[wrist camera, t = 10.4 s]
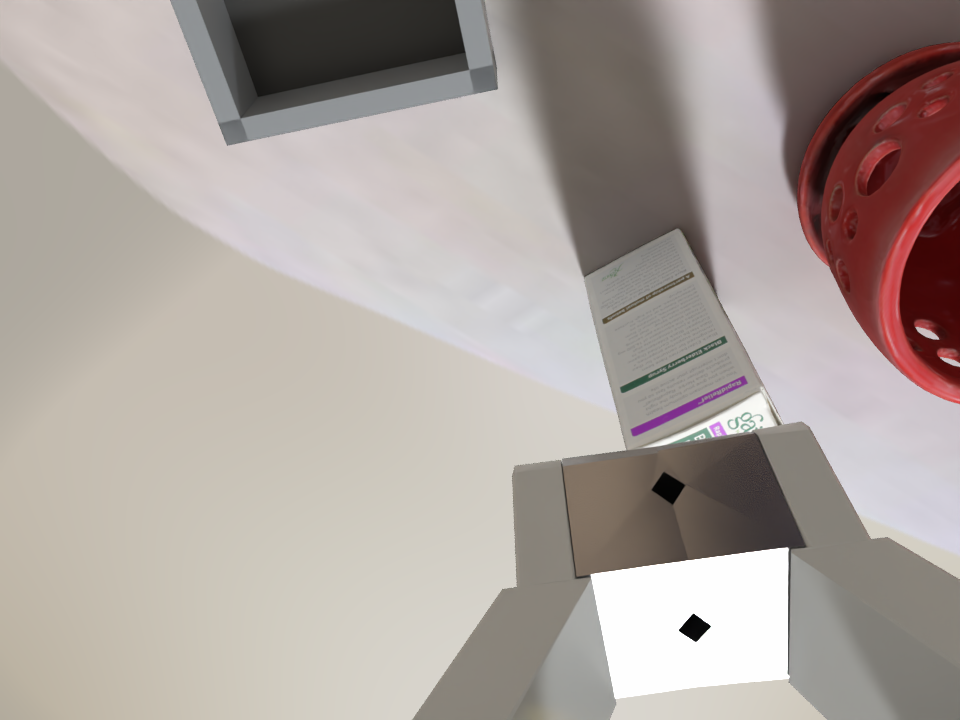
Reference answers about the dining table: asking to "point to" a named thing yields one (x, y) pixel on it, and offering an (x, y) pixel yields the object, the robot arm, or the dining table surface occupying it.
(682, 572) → the robot arm
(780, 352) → the dining table surface
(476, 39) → the tray box
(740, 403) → the syrup box
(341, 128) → the dining table surface
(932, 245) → the plant pot
